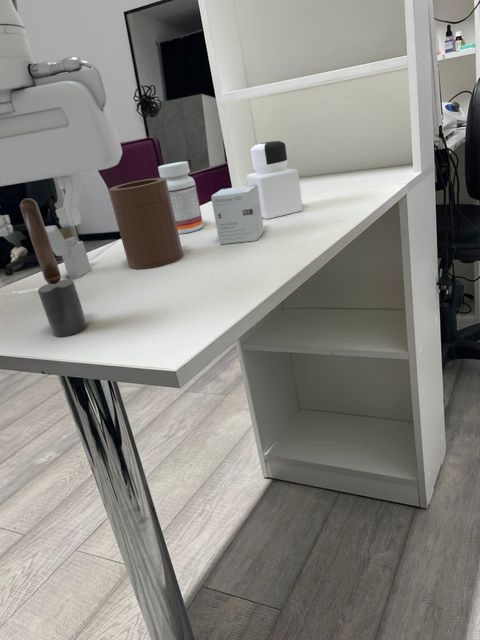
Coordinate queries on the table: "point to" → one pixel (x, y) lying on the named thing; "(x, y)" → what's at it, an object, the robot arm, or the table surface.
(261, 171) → the white security camera
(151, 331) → the table surface
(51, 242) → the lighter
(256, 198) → the white cardboard box
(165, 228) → the wooden pen holder
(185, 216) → the pill bottle
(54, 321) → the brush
